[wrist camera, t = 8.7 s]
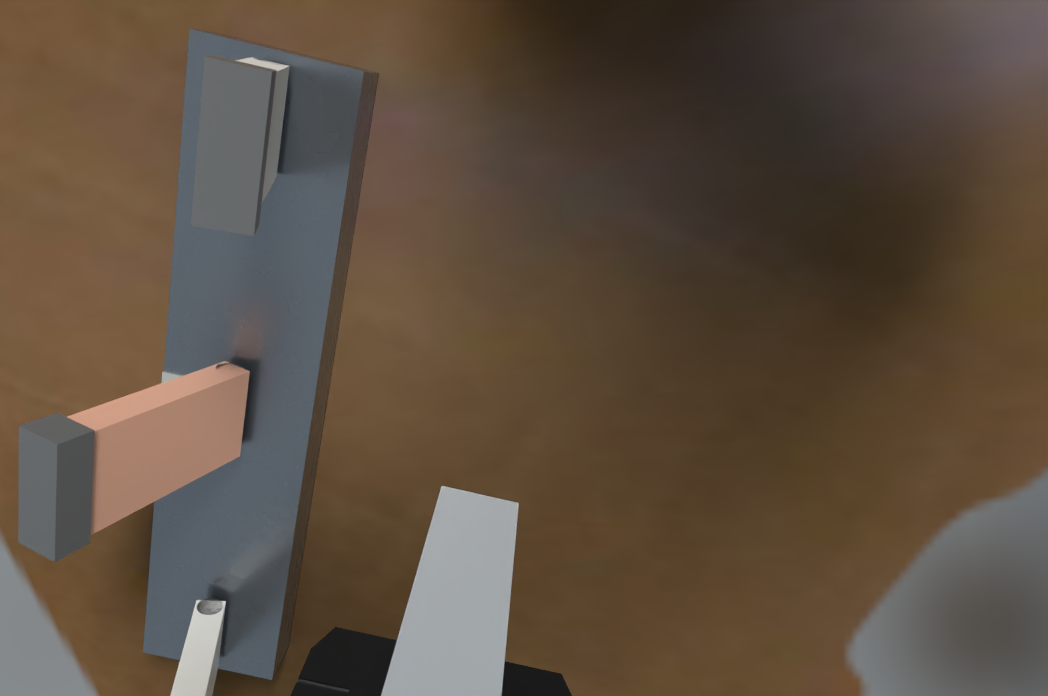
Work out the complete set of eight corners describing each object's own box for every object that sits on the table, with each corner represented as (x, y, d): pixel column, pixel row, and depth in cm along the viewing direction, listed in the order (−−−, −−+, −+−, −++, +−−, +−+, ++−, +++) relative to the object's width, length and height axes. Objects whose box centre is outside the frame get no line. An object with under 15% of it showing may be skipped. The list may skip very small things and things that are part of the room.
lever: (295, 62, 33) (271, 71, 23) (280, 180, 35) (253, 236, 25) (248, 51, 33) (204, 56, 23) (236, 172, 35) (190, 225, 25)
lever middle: (256, 368, 38) (57, 444, 28) (245, 459, 40) (54, 562, 30) (225, 355, 38) (18, 425, 28) (215, 446, 40) (18, 542, 30)
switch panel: (378, 73, 36) (362, 71, 33) (288, 645, 48) (271, 681, 45) (218, 33, 36) (187, 28, 33) (167, 619, 48) (141, 654, 45)
